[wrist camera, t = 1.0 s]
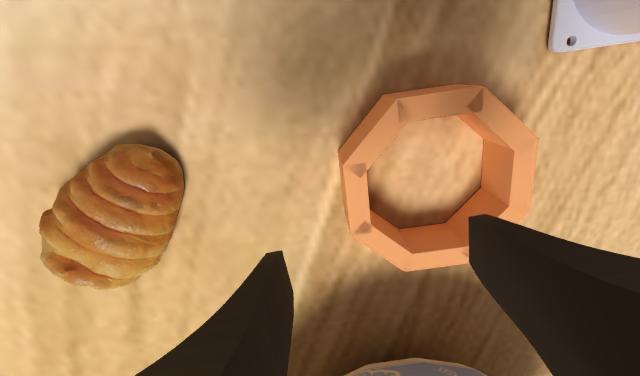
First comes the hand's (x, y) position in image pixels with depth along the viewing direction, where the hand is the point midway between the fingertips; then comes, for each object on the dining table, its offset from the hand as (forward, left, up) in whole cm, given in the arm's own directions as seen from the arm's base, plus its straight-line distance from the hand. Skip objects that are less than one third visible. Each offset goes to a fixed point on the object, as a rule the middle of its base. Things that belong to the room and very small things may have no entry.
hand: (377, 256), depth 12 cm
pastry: (+15, 0, -9) cm, 17 cm away
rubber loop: (-5, 0, -8) cm, 9 cm away
